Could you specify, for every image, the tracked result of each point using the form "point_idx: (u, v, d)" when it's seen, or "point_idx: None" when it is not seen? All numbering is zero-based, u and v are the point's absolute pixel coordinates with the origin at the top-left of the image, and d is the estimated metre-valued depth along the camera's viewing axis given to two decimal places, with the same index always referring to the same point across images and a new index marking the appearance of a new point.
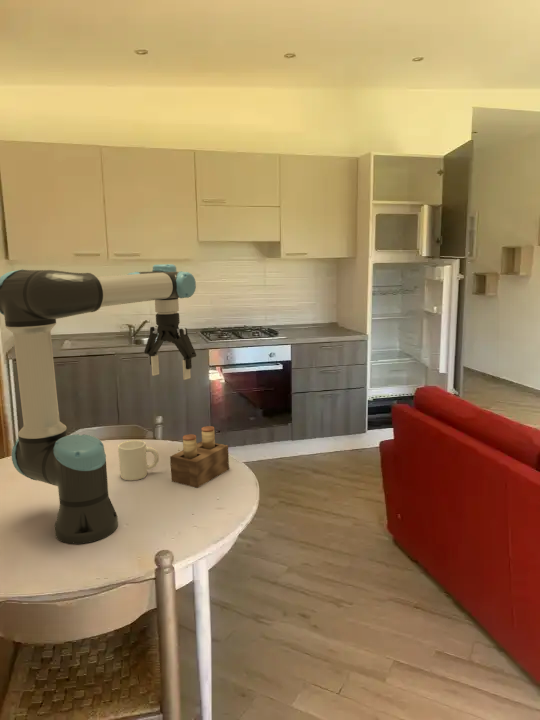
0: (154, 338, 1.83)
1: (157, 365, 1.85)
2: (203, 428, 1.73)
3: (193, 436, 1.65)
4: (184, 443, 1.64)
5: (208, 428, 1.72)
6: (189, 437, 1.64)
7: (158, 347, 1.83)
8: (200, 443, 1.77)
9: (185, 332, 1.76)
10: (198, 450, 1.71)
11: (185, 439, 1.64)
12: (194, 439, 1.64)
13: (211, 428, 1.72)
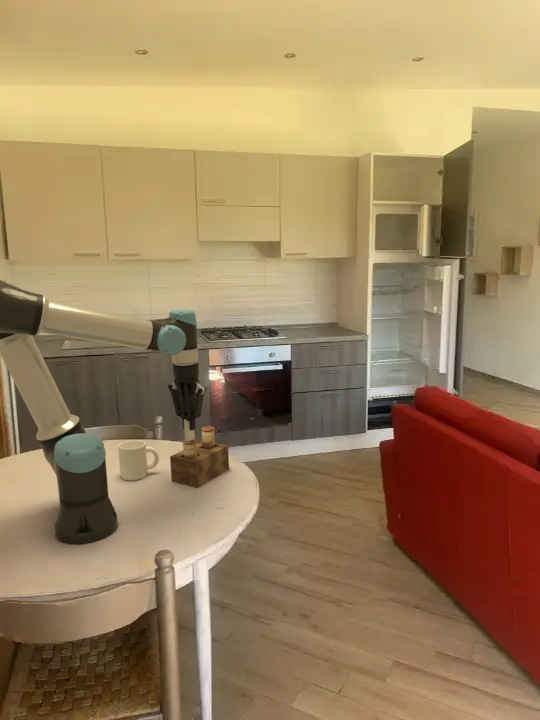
0: (178, 395, 1.65)
1: None
2: (203, 428, 1.73)
3: (193, 440, 1.65)
4: (184, 447, 1.64)
5: (208, 428, 1.72)
6: (189, 441, 1.65)
7: (186, 405, 1.64)
8: (200, 443, 1.77)
9: (203, 392, 1.60)
10: (198, 450, 1.71)
11: (185, 443, 1.64)
12: (194, 443, 1.65)
13: (211, 428, 1.72)
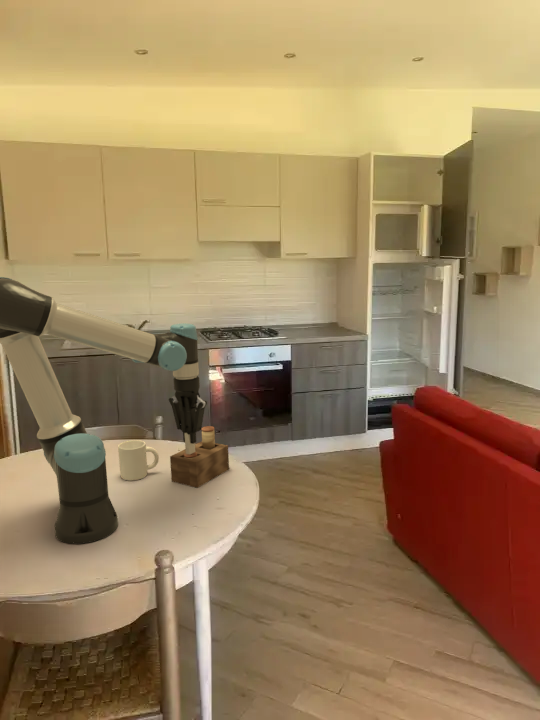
0: (179, 408, 1.66)
1: None
2: (203, 428, 1.73)
3: (194, 453, 1.66)
4: None
5: (208, 428, 1.72)
6: (190, 454, 1.65)
7: (187, 418, 1.65)
8: (200, 443, 1.77)
9: (203, 406, 1.61)
10: (198, 450, 1.71)
11: (186, 456, 1.65)
12: (195, 456, 1.65)
13: (211, 428, 1.72)
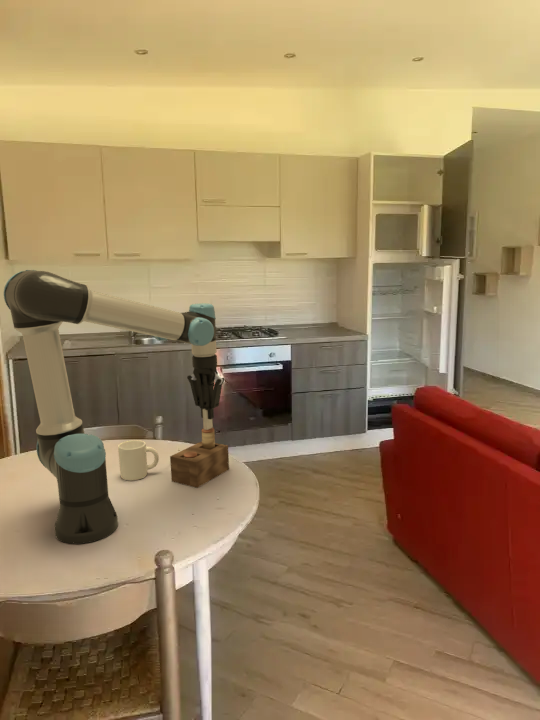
0: (197, 386, 1.73)
1: None
2: (203, 429, 1.73)
3: (194, 453, 1.66)
4: None
5: None
6: (190, 455, 1.65)
7: (205, 395, 1.71)
8: (200, 443, 1.77)
9: (221, 383, 1.67)
10: (198, 450, 1.71)
11: (186, 457, 1.65)
12: None
13: (211, 429, 1.72)
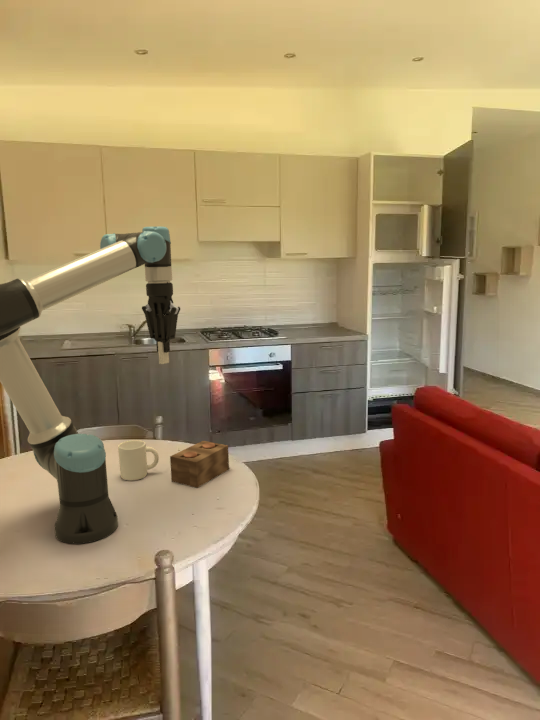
0: (152, 317, 1.62)
1: None
2: (204, 445, 1.74)
3: (194, 453, 1.66)
4: None
5: (209, 445, 1.74)
6: (190, 455, 1.65)
7: (160, 327, 1.61)
8: (200, 443, 1.77)
9: (177, 312, 1.57)
10: (198, 450, 1.71)
11: (186, 457, 1.65)
12: None
13: (212, 445, 1.73)
